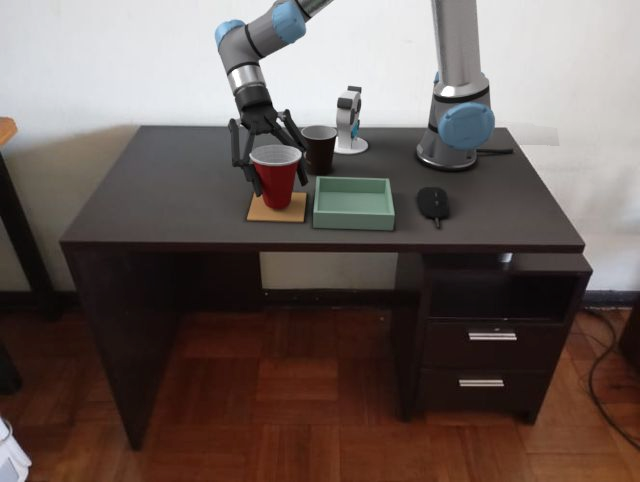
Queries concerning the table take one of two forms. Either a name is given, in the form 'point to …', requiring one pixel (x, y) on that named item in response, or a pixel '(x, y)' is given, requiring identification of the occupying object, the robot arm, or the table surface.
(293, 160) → the plastic cup
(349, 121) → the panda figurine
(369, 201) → the tray
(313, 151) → the coffee mug
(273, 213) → the cork mat
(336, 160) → the table surface
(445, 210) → the gaming mouse
